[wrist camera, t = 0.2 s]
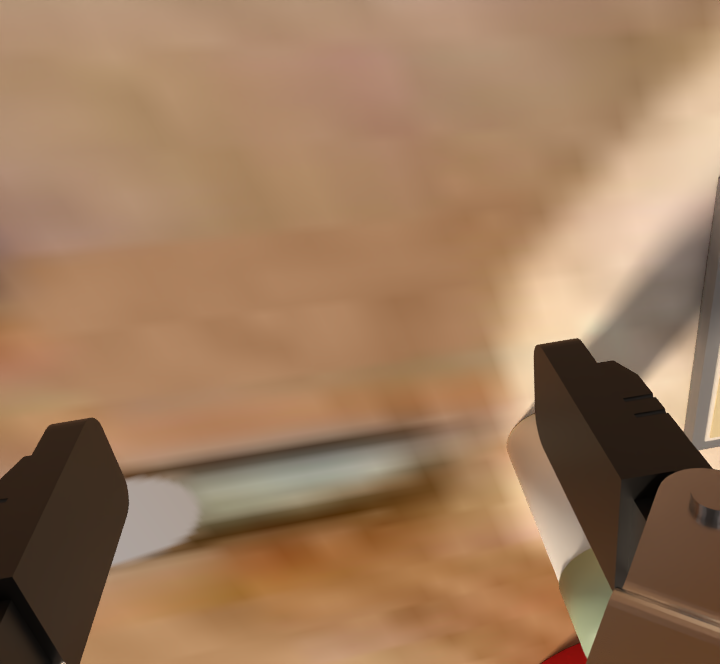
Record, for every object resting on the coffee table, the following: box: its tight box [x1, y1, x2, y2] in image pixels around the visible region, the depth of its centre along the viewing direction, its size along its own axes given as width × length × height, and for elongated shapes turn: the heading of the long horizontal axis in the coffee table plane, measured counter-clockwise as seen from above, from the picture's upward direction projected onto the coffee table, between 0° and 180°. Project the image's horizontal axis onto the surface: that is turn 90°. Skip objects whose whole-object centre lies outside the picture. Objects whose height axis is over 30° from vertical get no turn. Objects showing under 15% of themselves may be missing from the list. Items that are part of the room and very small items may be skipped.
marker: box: [507, 414, 613, 658], centre depth 32 cm, size 5×5×12 cm
